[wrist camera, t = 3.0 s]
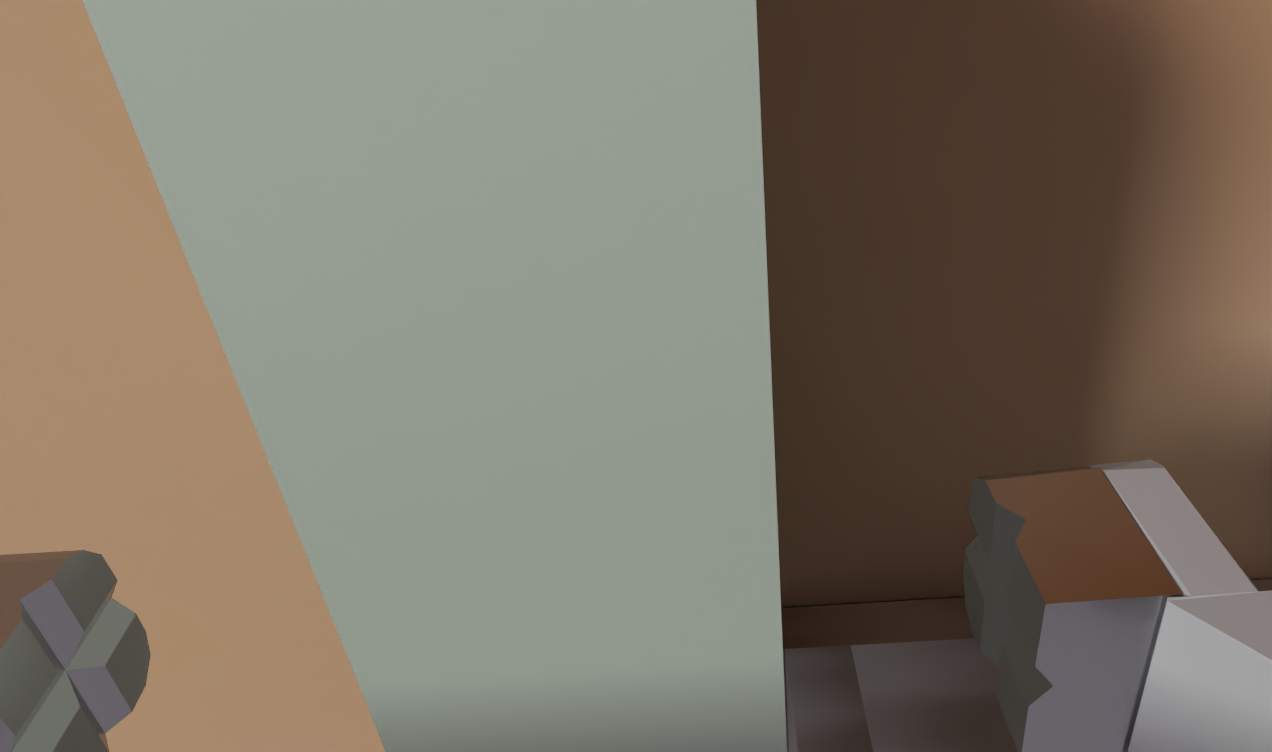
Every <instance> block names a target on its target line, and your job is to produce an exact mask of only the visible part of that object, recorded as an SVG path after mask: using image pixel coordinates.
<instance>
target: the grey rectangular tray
mask: <svg viewBox="0 0 1272 752" xmlns="http://www.w3.org/2000/svg"><path fill="white" fill-rule="evenodd" d="M1251 582H1252V583H1253V584H1254V586H1255V587H1256V588H1257V590H1258V591H1272V579H1260V580H1251ZM781 617H782V641H783V666H784V690H785V714H786V738H787V752H1018V751H1017V748H1016V746H1015V743H1014V740H1013V738H1012V735H1011V733H1010V730H1009V728H1008V725H1007V722H1006V720H1005V717H1004V715H1003V712H1002V710H1001V707H1000V704H999V702H998V699H997V697H996V694H995V691H996V683H997V674H998V666H997V665H996V664H995V663H993V662H992V661H991V660H989V659H988V658H987V657H985V656H984V655H983V654H981V653H980V652H979V649H978V646H977V644H976V641H975V638H974V635H973V633H972V630H971V626H970V622H969V618H968V614H967V610H966V605H965V597H961V598H944V599H927V600H911V601H894V602H877V603H861V604H844V605H827V606H811V607H794V608H781Z"/></svg>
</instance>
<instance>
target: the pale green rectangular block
mask: <svg viewBox="0 0 1272 752" xmlns="http://www.w3.org/2000/svg"><path fill="white" fill-rule="evenodd" d="M83 3H84V5H85V8H86V10H87V13H88V15H89V18H90V20H91V23H92V25H93V28H94V30H95V33H96V35H97V38H98V40H99V43H100V45H101V47H102V50H103V52H104V55H105V57H106V60H107V62H108V65H109V67H110V70H111V72H112V75H113V77H114V80H115V82H116V85H117V87H118V90H119V92H120V95H121V97H122V99H123V102H124V104H125V107H126V109H127V112H128V114H129V117H130V119H131V122H132V124H133V127H134V129H135V132H136V134H137V137H138V139H139V142H140V144H141V146H142V149H143V151H144V154H145V156H146V159H147V161H148V164H149V166H150V169H151V171H152V174H153V176H154V179H155V181H156V184H157V186H158V189H159V191H160V194H161V196H162V198H163V201H164V203H165V206H166V208H167V211H168V213H169V216H170V218H171V221H172V223H173V226H174V228H175V231H176V233H177V236H178V238H179V241H180V243H181V246H182V248H183V250H184V253H185V255H186V258H187V260H188V263H189V265H190V268H191V270H192V273H193V275H194V278H195V280H196V283H197V285H198V288H199V290H200V293H201V295H202V298H203V300H204V302H205V305H206V307H207V310H208V312H209V315H210V317H211V320H212V322H213V325H214V327H215V330H216V332H217V335H218V337H219V340H220V342H221V345H222V347H223V349H224V352H225V354H226V357H227V359H228V362H229V364H230V367H231V369H232V372H233V374H234V377H235V379H236V382H237V384H238V387H239V389H240V392H241V394H242V397H243V399H244V401H245V404H246V406H247V409H248V411H249V414H250V416H251V419H252V421H253V424H254V426H255V429H256V431H257V434H258V436H259V439H260V441H261V444H262V446H263V449H264V451H265V453H266V456H267V458H268V461H269V463H270V466H271V468H272V471H273V473H274V476H275V478H276V481H277V483H278V486H279V488H280V491H281V493H282V496H283V498H284V501H285V503H286V505H287V508H288V510H289V513H290V515H291V518H292V520H293V523H294V525H295V528H296V530H297V533H298V535H299V538H300V540H301V543H302V545H303V548H304V550H305V552H306V555H307V557H308V560H309V562H310V565H311V567H312V570H313V572H314V575H315V577H316V580H317V582H318V585H319V587H320V590H321V592H322V595H323V597H324V600H325V602H326V604H327V607H328V609H329V612H330V614H331V617H332V619H333V622H334V624H335V627H336V629H337V632H338V634H339V637H340V639H341V642H342V644H343V647H344V649H345V652H346V654H347V656H348V659H349V661H350V664H351V666H352V669H353V671H354V674H355V676H356V679H357V681H358V684H359V686H360V689H361V691H362V694H363V696H364V699H365V701H366V703H367V706H368V708H369V711H370V713H371V716H372V718H373V721H374V723H375V726H376V728H377V731H378V733H379V736H380V738H381V741H382V743H383V746H384V748H385V751H386V752H787V738H786V714H785V690H784V666H783V641H782V617H781V593H780V568H779V544H778V520H777V496H776V471H775V447H774V423H773V398H772V374H771V350H770V326H769V301H768V277H767V253H766V228H765V204H764V180H763V156H762V131H761V107H760V83H759V58H758V34H757V10H756V0H83Z"/></svg>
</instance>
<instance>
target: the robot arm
mask: <svg viewBox="0 0 1272 752" xmlns="http://www.w3.org/2000/svg"><path fill="white" fill-rule="evenodd" d="M968 514H969V516H970V518H971V521H972V523H973V525H974V528H975V530H976V532H977V535H978V536H977V537H976V538H975V539H974V540H973V541H972V542H971V543H970V544H969V545H968V546H967V547H966V548H965V549H964V564H963V585H964V595H965V605H966V610H967V614H968V618H969V622H970V626H971V630H972V633H973V635H974V638H975V641H976V644H977V646H978V649H979V652H980V653H981V654H983V655H984V656H985V657H987V658H988V659H989V660H991V661H992V662H993V663H995V664H996V665H997V666H998V674H997V683H996V691H995V694H996V697H997V699H998V702H999V704H1000V707H1001V710H1002V712H1003V715H1004V717H1005V720H1006V722H1007V725H1008V728H1009V730H1010V733H1011V735H1012V738H1013V740H1014V743H1015V746H1016V748H1017V751H1018V752H1272V591H1258V590H1257V588H1256V587H1255V586H1254V584H1253V583H1252V582H1251V580H1250V579H1249V578H1248V577H1247V575H1246V574H1245V573H1244V571H1243V570H1242V569H1241V567H1240V566H1239V565H1238V563H1237V562H1236V561H1235V559H1234V558H1233V557H1232V556H1231V554H1230V553H1229V552H1228V550H1227V549H1226V548H1225V546H1224V545H1223V544H1222V542H1221V541H1220V540H1219V538H1218V537H1217V536H1216V535H1215V533H1214V532H1213V531H1212V529H1211V528H1210V527H1209V525H1208V524H1207V523H1206V521H1205V520H1204V519H1203V518H1202V516H1201V515H1200V514H1199V512H1198V511H1197V510H1196V508H1195V507H1194V506H1193V504H1192V503H1191V502H1190V500H1189V499H1188V498H1187V497H1186V495H1185V494H1184V493H1183V491H1182V490H1181V489H1180V487H1179V486H1178V485H1177V483H1176V482H1175V481H1174V479H1173V478H1172V477H1171V476H1170V474H1169V473H1168V472H1167V470H1166V469H1165V468H1164V466H1163V465H1161V464H1159V463H1157V462H1156V461H1154V460H1152V459H1147V460H1137V461H1128V462H1118V463H1109V464H1099V465H1092V466H1091V467H1081V468H1070V469H1059V470H1047V471H1036V472H1025V473H1014V474H1002V475H991V476H980V477H975V479H974V482H973V484H972V487H971V489H970V497H969V506H968ZM116 583H117V579H116V577H115V575H114V574H113V572H112V571H111V569H110V567H109V566H108V564H107V563H106V561H105V559H104V558H103V556H102V555H101V554H97V553H93V552H89V551H85V550H78V551H61V552H43V553H26V554H9V555H0V752H109V748H108V744H107V740H106V735H105V733H106V732H107V731H109V730H110V729H111V728H112V727H114V726H115V725H116V724H117V723H119V722H120V721H121V720H122V719H123V718H125V717H126V716H127V715H128V714H130V713H131V712H132V711H133V709H134V707H135V705H136V703H137V701H138V699H139V697H140V695H141V693H142V691H143V689H144V687H145V686H146V679H147V673H148V667H149V660H150V650H149V645H148V640H147V635H146V631H145V629H144V628H143V626H142V624H141V622H140V620H139V618H138V616H137V614H136V613H134V612H133V611H131V610H130V609H128V608H127V607H125V606H123V605H122V604H120V603H119V602H117V601H116V600H114V599H112V595H113V592H114V589H115V586H116Z"/></svg>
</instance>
